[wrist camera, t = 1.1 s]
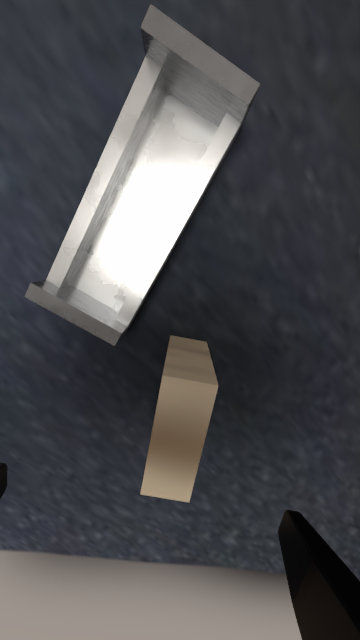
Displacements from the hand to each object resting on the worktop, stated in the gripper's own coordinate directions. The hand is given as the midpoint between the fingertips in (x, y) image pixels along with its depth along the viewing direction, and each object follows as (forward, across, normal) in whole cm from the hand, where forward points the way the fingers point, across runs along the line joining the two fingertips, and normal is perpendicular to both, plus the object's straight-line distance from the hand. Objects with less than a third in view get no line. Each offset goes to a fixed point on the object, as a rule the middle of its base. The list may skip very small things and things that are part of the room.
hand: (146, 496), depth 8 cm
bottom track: (+12, +4, -10) cm, 16 cm away
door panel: (+12, -1, +2) cm, 13 cm away
